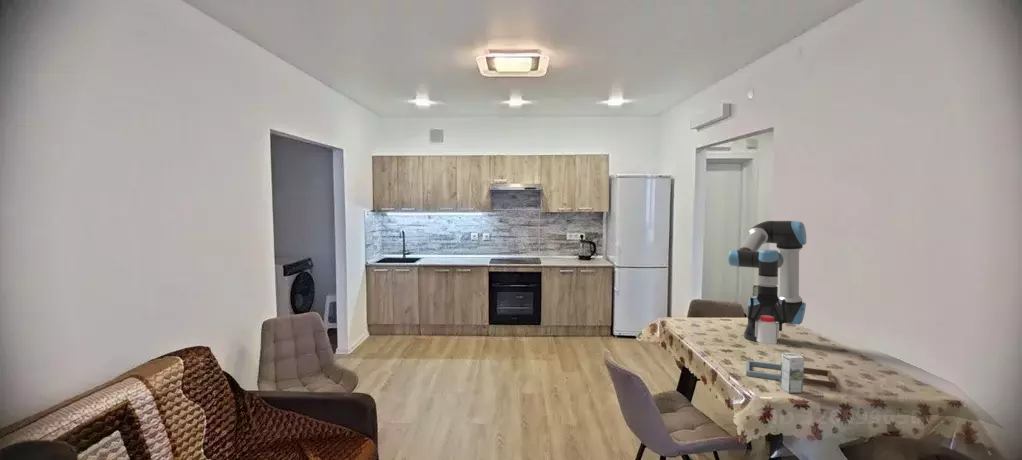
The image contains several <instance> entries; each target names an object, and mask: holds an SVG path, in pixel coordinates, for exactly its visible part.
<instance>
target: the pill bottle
mask: <svg viewBox="0 0 1022 460" xmlns="http://www.w3.org/2000/svg"><path fill="white" fill-rule="evenodd" d="M777 323H778V322H775V321H774V317H773V316H768V315H761V316H760V320H758V321H757V341H758V342H757V343H759V344H765V345H775V344H777V342H778V341H777V340H778V339H777Z"/></svg>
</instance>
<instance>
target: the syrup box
mask: <svg viewBox="0 0 1022 460" xmlns="http://www.w3.org/2000/svg"><path fill="white" fill-rule="evenodd" d="M780 361H781V362H780V364H781V370H780V375H781V380H780V383H779V384H780V389H782V390H783V391H785V392H786V393H787V394H802V393H803V389H804V384H803V378H804V373H803V370H804V366H805V363H804V362H805V358H804V357H803V356H802V355H800V354H798V353H796V352H795V353H794V352H793V353H792V352H791V353H781V360H780Z"/></svg>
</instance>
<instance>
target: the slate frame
mask: <svg viewBox="0 0 1022 460" xmlns="http://www.w3.org/2000/svg"><path fill="white" fill-rule="evenodd" d="M745 364H746V366H745V367H746V369H745V370H746V373H745V375H746V377H752V378H753V377H754V378H760V379H767V380H774V379H775V380H776V379H777V380H776V381H781V374H779V373H768V372H761V371H753V370H750V367H757V368H766V369H772V370H773V369H774V370H779V371H781V363H780V364H779V363H772V362H764V361H755V360H750V359H748V360H747V359H746V362H745Z"/></svg>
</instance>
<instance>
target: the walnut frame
mask: <svg viewBox="0 0 1022 460" xmlns="http://www.w3.org/2000/svg"><path fill="white" fill-rule="evenodd" d="M804 373H805V374H813V375H820V376H825V377H826V376H827V378H828V380H823V379H815V378H806V377H803V383H805V385H812V386H818V387H825V388H826V387H827V388H832V389H833V388H834V389H836V388H837V382H836V380H835V377H834V375H833V373H832V371H831V370H828V369H821V368H813V367H812V368H811V367H806V366H805V367H804V370H803V374H804Z"/></svg>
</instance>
